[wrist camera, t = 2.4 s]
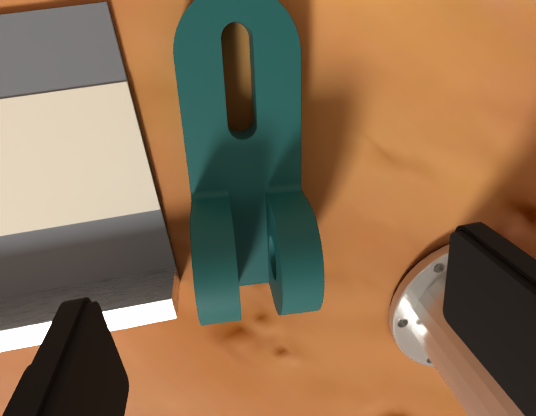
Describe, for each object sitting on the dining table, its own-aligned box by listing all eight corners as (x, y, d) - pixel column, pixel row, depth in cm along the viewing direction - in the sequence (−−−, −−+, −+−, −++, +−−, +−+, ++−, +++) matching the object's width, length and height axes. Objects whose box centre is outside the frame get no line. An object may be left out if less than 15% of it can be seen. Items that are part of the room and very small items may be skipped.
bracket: (294, 261, 29) (322, 335, 22) (203, 271, 29) (203, 351, 21) (291, -14, 22) (334, -34, 15) (168, -11, 21) (149, -31, 14)
